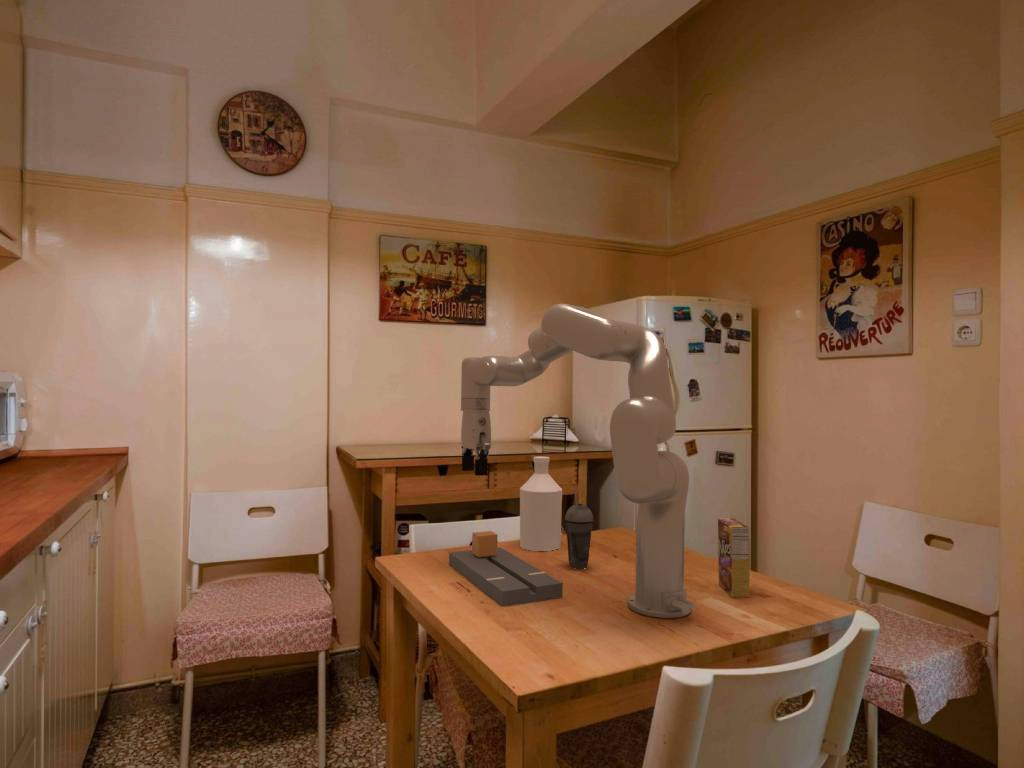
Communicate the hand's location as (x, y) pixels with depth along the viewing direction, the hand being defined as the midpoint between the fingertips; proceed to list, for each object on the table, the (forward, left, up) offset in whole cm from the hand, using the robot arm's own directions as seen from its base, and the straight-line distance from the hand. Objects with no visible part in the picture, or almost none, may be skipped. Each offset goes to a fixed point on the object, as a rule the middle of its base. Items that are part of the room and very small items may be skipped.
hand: (474, 472), depth 157 cm
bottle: (+5, -23, -23) cm, 32 cm away
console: (-18, 0, -22) cm, 29 cm away
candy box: (-45, -44, -23) cm, 67 cm away
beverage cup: (-16, -22, -23) cm, 35 cm away
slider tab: (-8, 0, -21) cm, 22 cm away
